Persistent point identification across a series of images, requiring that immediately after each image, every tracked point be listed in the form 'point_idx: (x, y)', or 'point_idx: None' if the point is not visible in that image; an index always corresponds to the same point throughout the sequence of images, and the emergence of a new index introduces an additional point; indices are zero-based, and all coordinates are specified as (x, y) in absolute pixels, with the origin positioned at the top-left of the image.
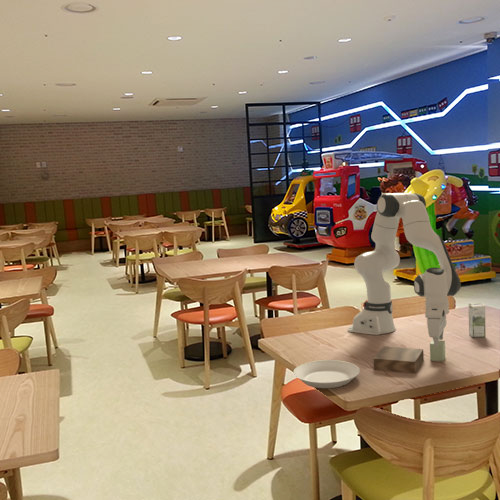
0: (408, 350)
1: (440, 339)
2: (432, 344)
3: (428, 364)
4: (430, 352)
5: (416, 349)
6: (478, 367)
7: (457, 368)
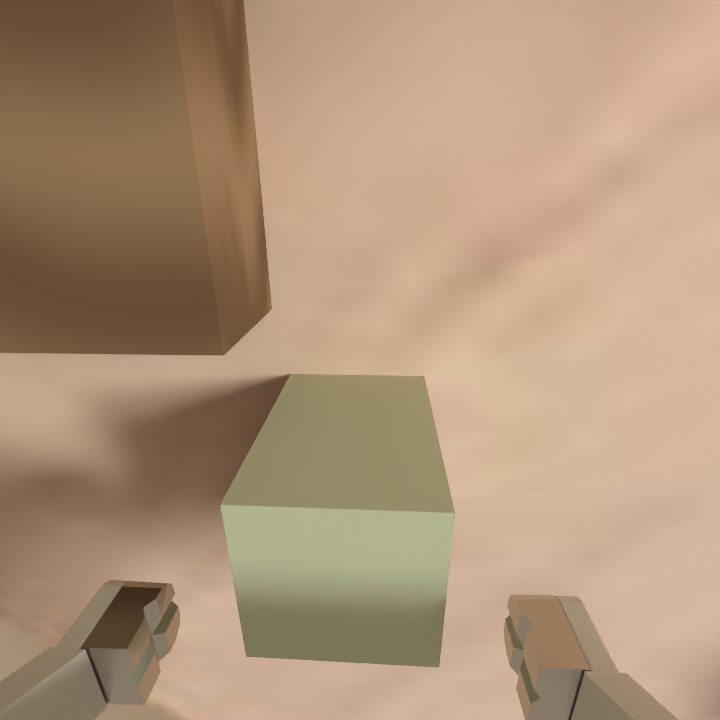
0: (44, 114)
1: (513, 615)
2: (231, 530)
3: (161, 376)
4: (266, 423)
5: (166, 252)
6: (248, 678)
7: (169, 582)
